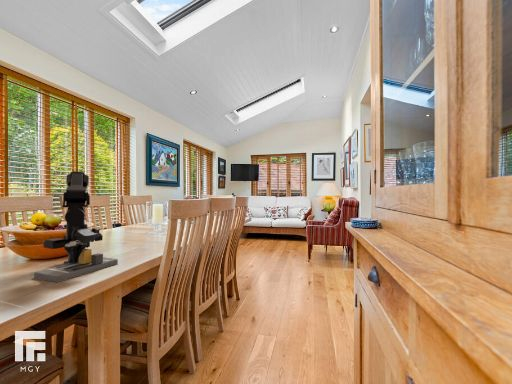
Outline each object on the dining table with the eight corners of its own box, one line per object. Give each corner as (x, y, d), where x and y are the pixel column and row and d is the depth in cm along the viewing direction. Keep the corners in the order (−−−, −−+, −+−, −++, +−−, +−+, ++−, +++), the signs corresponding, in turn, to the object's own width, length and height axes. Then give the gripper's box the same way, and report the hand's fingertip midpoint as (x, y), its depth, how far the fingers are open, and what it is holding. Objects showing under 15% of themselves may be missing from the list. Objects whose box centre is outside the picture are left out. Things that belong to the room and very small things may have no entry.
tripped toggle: (78, 263, 100) (78, 250, 100) (86, 261, 103) (86, 248, 103) (84, 263, 99) (84, 251, 99) (91, 261, 102) (91, 249, 102)
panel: (34, 277, 90) (34, 261, 90) (97, 260, 113) (97, 248, 113) (56, 282, 86) (56, 265, 86) (117, 263, 108) (117, 250, 108)
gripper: (63, 226, 86) (63, 272, 86) (112, 220, 104) (112, 259, 104) (42, 224, 90) (42, 268, 90) (93, 219, 108) (92, 256, 108)
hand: (75, 262), depth 98 cm, fingers closed
